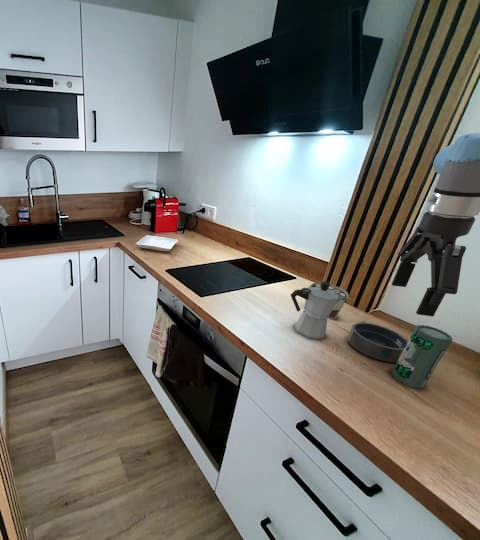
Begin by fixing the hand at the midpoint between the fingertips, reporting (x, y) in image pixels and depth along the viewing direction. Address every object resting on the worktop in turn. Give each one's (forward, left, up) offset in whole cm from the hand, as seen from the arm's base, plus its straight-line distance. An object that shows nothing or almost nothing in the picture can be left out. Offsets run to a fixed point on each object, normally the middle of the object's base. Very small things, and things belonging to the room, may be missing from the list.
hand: (410, 299), depth 69 cm
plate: (+86, -73, -22) cm, 115 cm away
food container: (+7, -31, -23) cm, 39 cm away
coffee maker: (+15, -13, -22) cm, 30 cm away
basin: (-3, -12, -22) cm, 25 cm away
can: (-7, 0, -22) cm, 23 cm away
